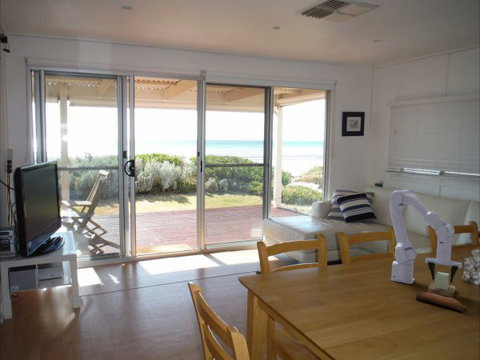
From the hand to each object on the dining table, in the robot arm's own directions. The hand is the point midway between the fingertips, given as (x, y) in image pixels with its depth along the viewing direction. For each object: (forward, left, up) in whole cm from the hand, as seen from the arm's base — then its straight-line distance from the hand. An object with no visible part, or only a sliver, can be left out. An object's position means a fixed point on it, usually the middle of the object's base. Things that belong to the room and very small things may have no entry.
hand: (442, 280), depth 185 cm
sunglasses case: (+2, -16, -6) cm, 17 cm away
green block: (0, 0, -3) cm, 3 cm away
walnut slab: (0, 0, -5) cm, 5 cm away
